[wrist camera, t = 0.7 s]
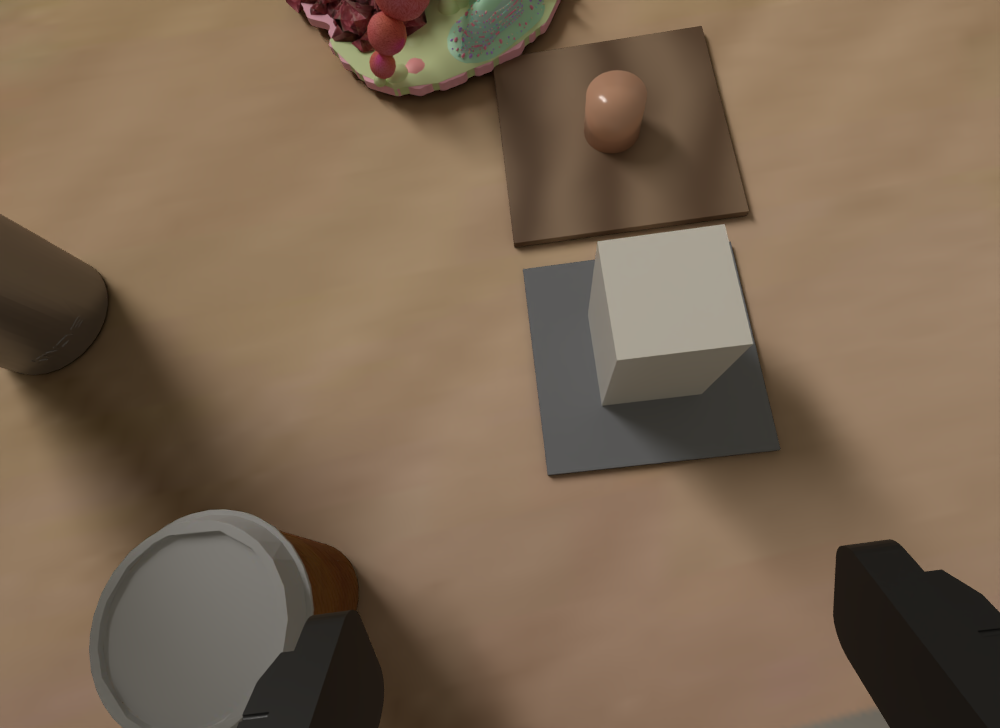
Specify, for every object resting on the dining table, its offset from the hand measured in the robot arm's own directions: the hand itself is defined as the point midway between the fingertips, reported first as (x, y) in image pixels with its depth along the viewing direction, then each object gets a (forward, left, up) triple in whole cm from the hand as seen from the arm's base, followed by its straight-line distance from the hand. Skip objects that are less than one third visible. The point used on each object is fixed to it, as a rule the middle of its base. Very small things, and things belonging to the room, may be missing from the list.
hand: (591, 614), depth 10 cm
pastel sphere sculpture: (-38, +29, -26) cm, 54 cm away
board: (-16, +25, -26) cm, 39 cm away
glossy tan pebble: (-16, +25, -25) cm, 39 cm away
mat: (-4, +13, -26) cm, 29 cm away
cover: (-4, +13, -25) cm, 29 cm away
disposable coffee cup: (-10, -12, -26) cm, 30 cm away
